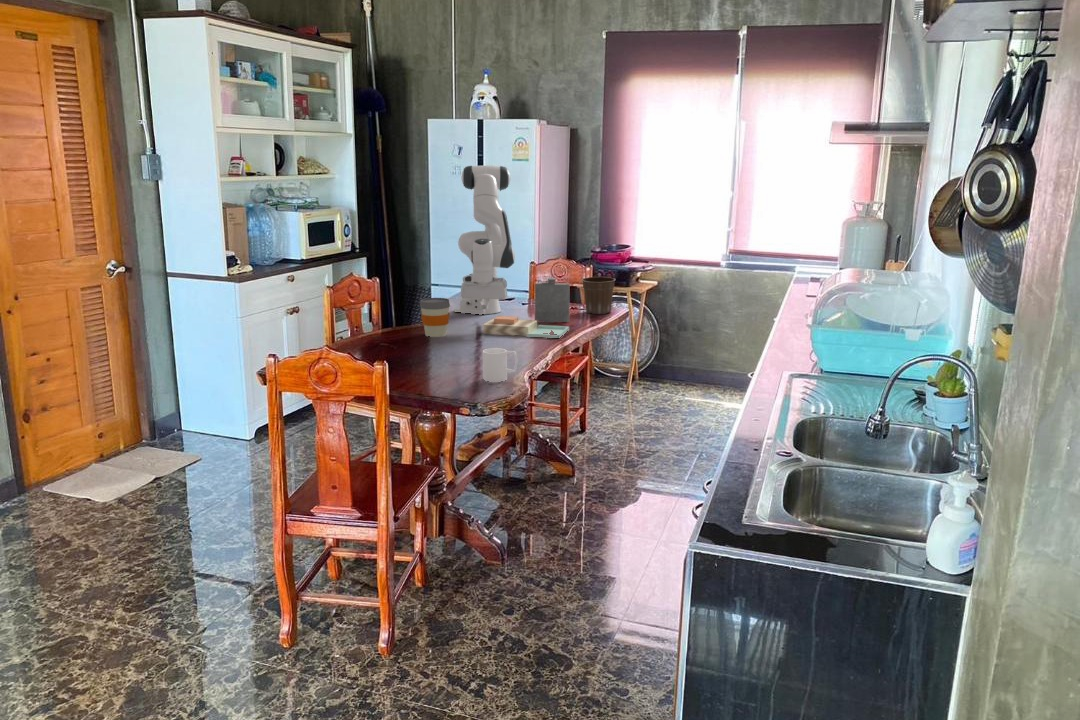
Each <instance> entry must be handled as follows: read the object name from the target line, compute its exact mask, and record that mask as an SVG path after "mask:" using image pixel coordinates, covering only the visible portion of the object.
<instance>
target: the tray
mask: <svg viewBox="0 0 1080 720" xmlns="http://www.w3.org/2000/svg"><path fill="white" fill-rule="evenodd" d="M551 330H552V331H553V332H554V334H557V335H550V334H549V333H550V332H551ZM567 331H568V332H569V331H570V326H564V325H562V326H561V325H549V324H548V325H547V324H546V325H545V324H537V329H536V330H535V331H533V332H532V333H527V336H526V338H530V337H546V338H545V339H547V337H548V338H560V337H561V336H562V335H563V336H565V335H564V334H565V333H566V332H567ZM568 332H567V333H568ZM543 333H548V334H543ZM567 333H566V334H567ZM563 336H562V337H563ZM562 337H561V338H562ZM561 338H560V339H561Z"/></svg>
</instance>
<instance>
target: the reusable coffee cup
mask: <svg viewBox="0 0 1080 720" xmlns="http://www.w3.org/2000/svg"><path fill="white" fill-rule="evenodd" d="M419 303H420V305H419V308H420V310H421V313H420V315H421V317H420V318H421V322H422V325H423V327H424V334H425V337H428V336H430V337H429V338H442V337H445V336H447V334H448V333H447V332H448V324H449V322H450V307H451V306H450V299H449V298H446V297H427V298H422V299H420V302H419Z"/></svg>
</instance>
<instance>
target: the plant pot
mask: <svg viewBox="0 0 1080 720" xmlns="http://www.w3.org/2000/svg"><path fill="white" fill-rule="evenodd" d="M615 281H616V278H614V277H611V276H588V277H584V278H582V279H581V282H582V288H583V292H584V293H583V294H584V302H585V312H586V313H587V314H593V315H605V314H609V313H611V312H612V303H613V294H614V288H615Z"/></svg>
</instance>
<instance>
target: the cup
mask: <svg viewBox="0 0 1080 720" xmlns="http://www.w3.org/2000/svg"><path fill="white" fill-rule="evenodd" d="M509 354H513V355H514V356H513V357H514V361H515V363H514V366H513V367H514V368H513V369H511V368H508V355H509ZM518 362H519V361H518V354H517V351H514V350H507V349H505V348H502V347H501V348H500V347H489V348H485V349H483V350H482V377H483V378H482V379H484V380H485V381H484V380H483V381H484V382H487V381H489V382H488V383H501V381H503V382H505V380H506V381H507V380H508V373H511V374H512V373H515V372H516V371H517V370H518V369H517V367H518V364H519V363H518Z"/></svg>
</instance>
